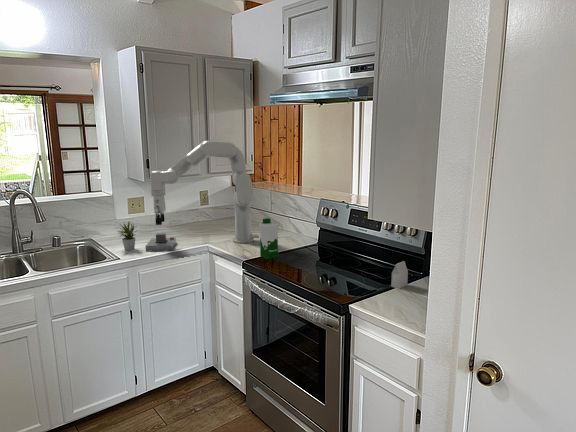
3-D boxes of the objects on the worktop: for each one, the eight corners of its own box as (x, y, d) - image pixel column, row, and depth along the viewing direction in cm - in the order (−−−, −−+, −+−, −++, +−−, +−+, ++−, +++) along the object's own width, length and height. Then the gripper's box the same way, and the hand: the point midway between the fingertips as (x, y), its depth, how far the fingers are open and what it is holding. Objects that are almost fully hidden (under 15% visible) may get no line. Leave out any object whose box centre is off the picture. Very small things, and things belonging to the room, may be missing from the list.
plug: (166, 245, 249) (165, 233, 248) (165, 247, 245) (164, 234, 244) (157, 246, 249) (157, 233, 247) (156, 247, 245) (155, 234, 244)
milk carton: (271, 253, 231) (271, 217, 227) (281, 257, 223) (280, 219, 220) (257, 256, 226) (257, 219, 222) (267, 260, 218) (266, 221, 215)
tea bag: (407, 284, 182) (408, 261, 180) (399, 288, 177) (400, 265, 175) (399, 282, 184) (400, 260, 182) (391, 286, 179) (392, 263, 178)
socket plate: (176, 242, 257) (175, 236, 256) (171, 250, 239) (171, 243, 238) (152, 243, 255) (151, 237, 254) (145, 251, 238) (145, 244, 237)
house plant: (115, 246, 247) (113, 219, 244) (140, 244, 252) (139, 217, 249) (115, 253, 234) (112, 223, 231) (141, 250, 239) (139, 221, 236)
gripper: (162, 194, 233) (164, 226, 237) (167, 190, 250) (169, 220, 254) (148, 195, 233) (150, 226, 236) (154, 191, 250) (156, 220, 253)
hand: (160, 223), depth 245 cm, fingers open, 8 cm apart
